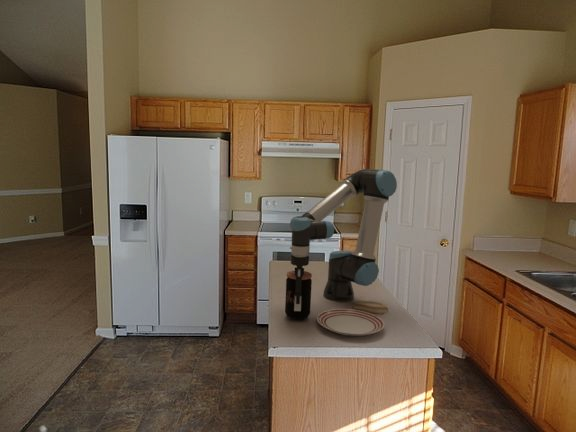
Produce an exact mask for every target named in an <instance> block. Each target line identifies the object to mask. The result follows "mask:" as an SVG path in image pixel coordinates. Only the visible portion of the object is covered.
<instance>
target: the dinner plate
mask: <svg viewBox="0 0 576 432" xmlns="http://www.w3.org/2000/svg"><path fill="white" fill-rule="evenodd" d="M316 321H317V323H318V324H319V325H320V326H321V327H323V328H324V329H326V330H329V332H333V333H336V334H339V335H342V334H344V335H343V336H348V335H351V336H350V337H362V336H369V335H374V334H377V333H379V332H381V331H382V330H384V327H385V322H384V320H383V319H381V318H380V317H378V315H373V314H370V313H367V312H364V311H359V310H355V309H354V308H353V309H352V308H350V309H349V308H334V309H328V310H324V311H322V312H320V313H318V314H317V315H316Z"/></svg>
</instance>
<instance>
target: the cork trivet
mask: <svg viewBox="0 0 576 432" xmlns="http://www.w3.org/2000/svg"><path fill="white" fill-rule="evenodd" d="M352 306H353V310H355V309H356V310H359V311H364V312H367V313H370V314H381V315H385V314H387V313H388V312H389V307H388V306H387V305H385V304H383V303H381V302H376V301H371V300H370V301H369V300H360V301H356V302H355V303H353V305H352ZM386 312H387V313H386ZM384 313H385V314H384Z"/></svg>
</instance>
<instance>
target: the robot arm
mask: <svg viewBox="0 0 576 432" xmlns="http://www.w3.org/2000/svg"><path fill="white" fill-rule="evenodd" d="M397 182H398V181H397V178H396V177H395V175H394V173H393V172H392V171H389V170H385V169H373V168H372V169H371V168H370V169H369V168H364V169H359V170H358V171H355V172H353V173H352V174H350V175H348V176H347V177H346V178H344V179H343V180H342V181H341V182H340V185H339V186H338V187H336V188H335V189H334V190H332V191H331V192H330V193H329V194H328V195H326V196H325V197H324V198H323V199H322V200H320V201H319V202H317V203H316V204H315V205H314V206H312V207H311V208H310V209H309V210H307V211H306V212H305V213H303V214H302V215H301V216H300V215H295V216H293V217H292V218H291V219H290V223H289V226H290V229H291V246H290V247H289V249H290V250H291V251H290V254H291V255H290V264H291V265H293V266H296V267H294V271H295V276H296V286H295V294H293V296H295V302H294V311H301V286H302V276H303V274H304V271H305V267H306V266H308V265H309V263H310V256H309V255H310V250H311V249H310V246H311V245H310V243H311V241H315V240H316V241H317V240H326V239H331V238H332V237H334V236H333V235H334V233H335V227H334V224H333V223H332V222H331V221H328V220H327V221H325V220H324V219H325V218H326V217H327V218H328V216H329V215H330V214H331V213H333V212H334V211H336V210H337V209H338V208H339V207H340V206H342V205H343V204H344V203H345V202H347V201H348V200H349V199H350V198H355V197H357V195H359V194H363V195H362V196H363V199H364V200H365V202H364V208H363V210H362V211H363V213H362V216H361V221H360V226H359V232H358V235H357V239H356V240H357V241H356V245H355V250H354V251H351V250H334V251H331V252H330V253H329V258H328V274H327V282H326V284H325V286H324V289H323V294H322V295H323V297H325V298H326V299H328V300H331V301H335V302H349V301H352V300H354V297H355V292H354V288H353V285H352V283H354V284H356V285H360V286H364V287H368V286H370V285H372V284H373V283H374V282H375V281H376V280H377V278H378V276H379V273H380V271H379V266H378V264H377V263H376V260H377V258H376V256H375V249H376V246H377V240H378V236H379V229H380V226H381V220H382V215H383V211H384V206H385V204H386V203H387V202H388V201H389V198H390V197H391V196H392V197H393V195H394V194H395V193H396V191H397V187H398V183H397Z"/></svg>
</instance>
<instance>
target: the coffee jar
mask: <svg viewBox="0 0 576 432" xmlns="http://www.w3.org/2000/svg"><path fill="white" fill-rule="evenodd" d="M312 276H313V275H312V273H311V272H309V271H306V270H304V274H303V276H302V286H301V311H294V302H295V296H293V294H295V286H296V276H295V270H291V271H287V272H286V277H287V278H286V280H285V301H284V303H285V305H284V306H285V307H284V313H285V314H286V316H287V317H288V318H290V319H292V320H304V319H306V318H307V319H308V317H309V316H310V314H311V303H312V301H311V299H312V283H313V281H312V280H313V279H312Z"/></svg>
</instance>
